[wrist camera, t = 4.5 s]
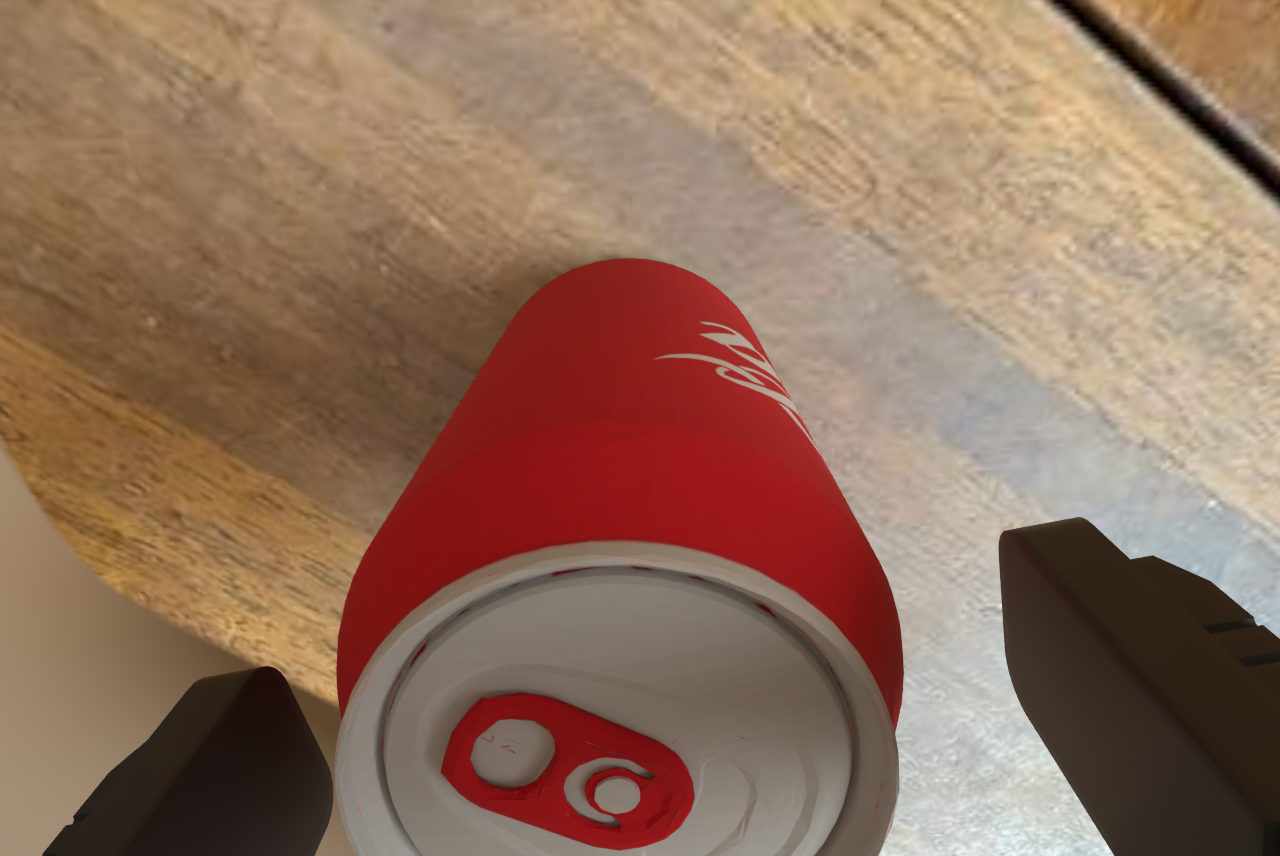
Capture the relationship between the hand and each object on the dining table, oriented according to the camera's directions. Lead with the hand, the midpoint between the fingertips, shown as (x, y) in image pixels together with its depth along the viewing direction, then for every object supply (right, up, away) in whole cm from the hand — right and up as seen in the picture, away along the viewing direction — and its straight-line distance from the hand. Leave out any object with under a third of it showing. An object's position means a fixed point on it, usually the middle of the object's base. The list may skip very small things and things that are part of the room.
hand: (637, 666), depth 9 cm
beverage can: (0, +4, +10) cm, 11 cm away
